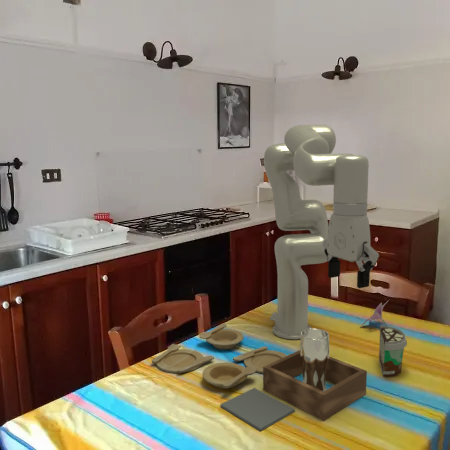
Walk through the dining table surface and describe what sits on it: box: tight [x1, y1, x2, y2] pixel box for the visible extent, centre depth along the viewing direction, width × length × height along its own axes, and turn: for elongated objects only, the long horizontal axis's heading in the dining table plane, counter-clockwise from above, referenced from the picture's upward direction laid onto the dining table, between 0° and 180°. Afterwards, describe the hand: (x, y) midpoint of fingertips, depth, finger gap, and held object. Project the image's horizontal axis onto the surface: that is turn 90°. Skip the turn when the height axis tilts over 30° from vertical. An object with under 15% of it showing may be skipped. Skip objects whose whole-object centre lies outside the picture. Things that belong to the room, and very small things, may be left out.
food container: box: [378, 324, 408, 378], centre depth 126 cm, size 12×6×10 cm, turn 168°
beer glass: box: [299, 328, 330, 391], centre depth 115 cm, size 7×7×15 cm
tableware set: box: [151, 323, 291, 390], centre depth 133 cm, size 35×29×4 cm
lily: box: [360, 299, 390, 327], centre depth 155 cm, size 12×12×10 cm
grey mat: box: [220, 387, 296, 432], centre depth 109 cm, size 13×11×1 cm
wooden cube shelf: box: [262, 349, 368, 422], centre depth 116 cm, size 18×16×6 cm
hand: (348, 281), depth 112 cm, fingers open, 9 cm apart
